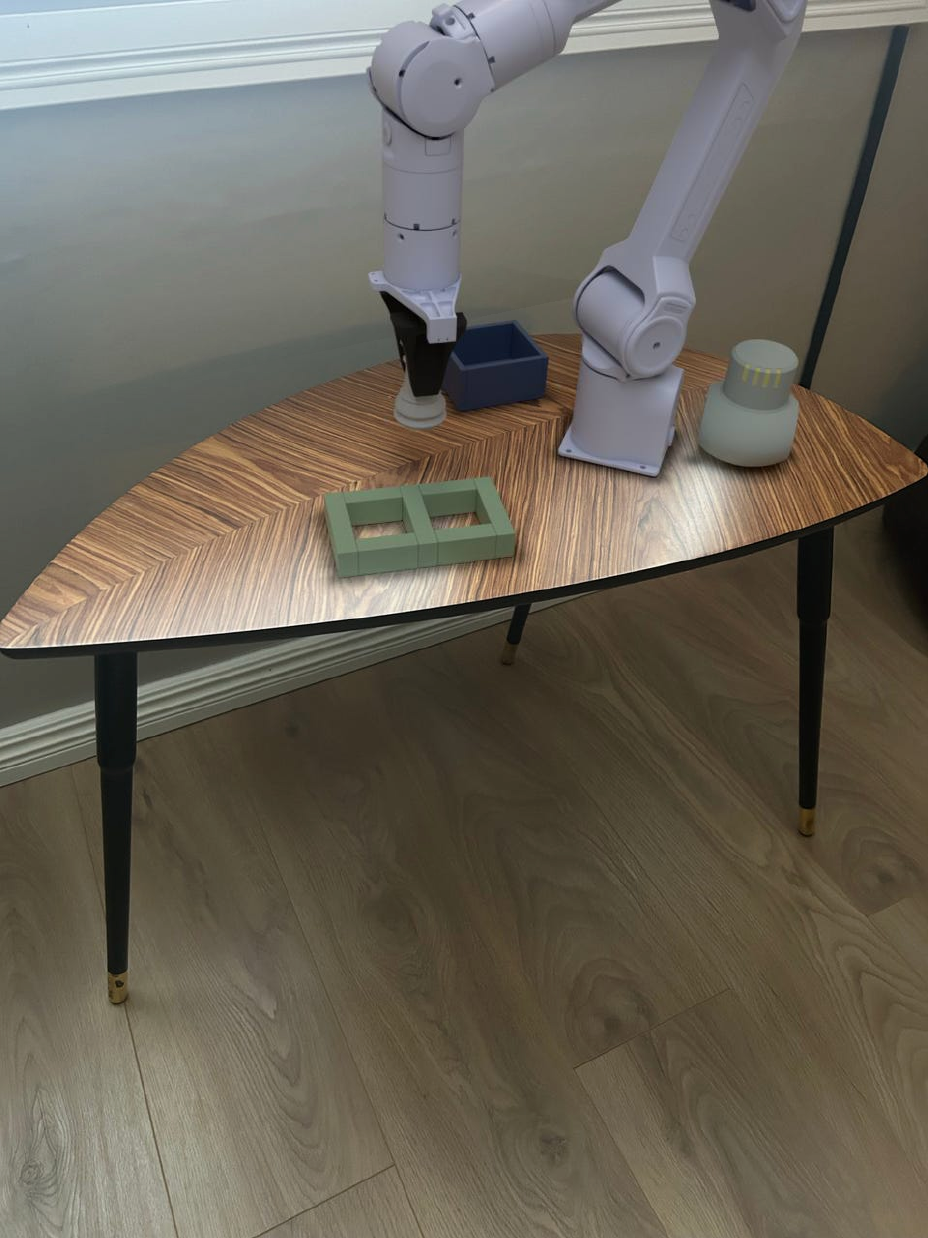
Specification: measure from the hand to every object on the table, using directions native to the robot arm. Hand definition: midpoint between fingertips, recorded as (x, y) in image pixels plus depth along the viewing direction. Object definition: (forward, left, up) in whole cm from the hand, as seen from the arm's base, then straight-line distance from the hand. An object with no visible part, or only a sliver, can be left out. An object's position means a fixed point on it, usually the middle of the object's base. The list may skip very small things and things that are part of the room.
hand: (420, 382), depth 82 cm
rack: (-2, +7, -10) cm, 13 cm away
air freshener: (-26, -17, -11) cm, 33 cm away
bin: (0, -19, -10) cm, 22 cm away
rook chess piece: (0, 0, -4) cm, 4 cm away
